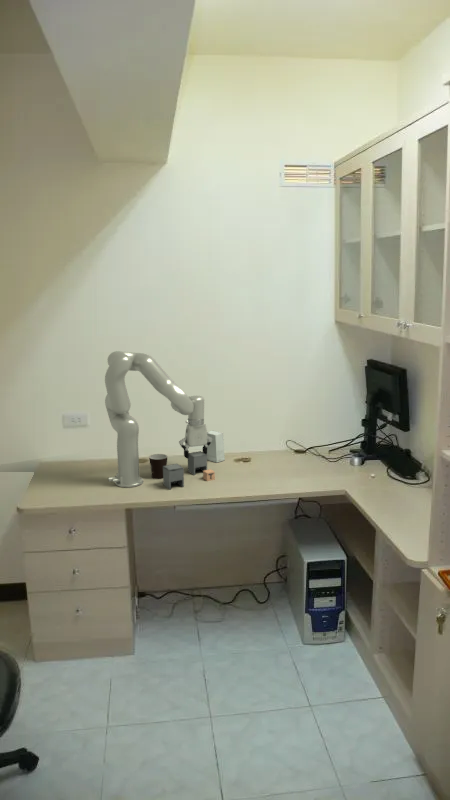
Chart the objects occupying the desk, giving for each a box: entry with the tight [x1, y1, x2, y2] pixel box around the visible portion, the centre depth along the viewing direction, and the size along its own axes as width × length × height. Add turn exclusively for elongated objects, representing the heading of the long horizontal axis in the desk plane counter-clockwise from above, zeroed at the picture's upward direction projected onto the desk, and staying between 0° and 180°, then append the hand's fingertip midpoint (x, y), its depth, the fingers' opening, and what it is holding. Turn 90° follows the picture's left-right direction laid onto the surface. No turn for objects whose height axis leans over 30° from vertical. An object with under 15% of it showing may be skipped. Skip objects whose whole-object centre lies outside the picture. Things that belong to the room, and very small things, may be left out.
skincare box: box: [207, 430, 226, 463], centre depth 298 cm, size 8×6×15 cm
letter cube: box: [202, 468, 216, 482], centre depth 271 cm, size 4×4×4 cm
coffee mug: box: [148, 453, 168, 480], centre depth 275 cm, size 12×9×10 cm
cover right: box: [187, 450, 208, 476], centre depth 280 cm, size 7×7×9 cm
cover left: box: [162, 463, 185, 491], centre depth 262 cm, size 7×7×9 cm
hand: (195, 456), depth 279 cm, fingers open, 9 cm apart
